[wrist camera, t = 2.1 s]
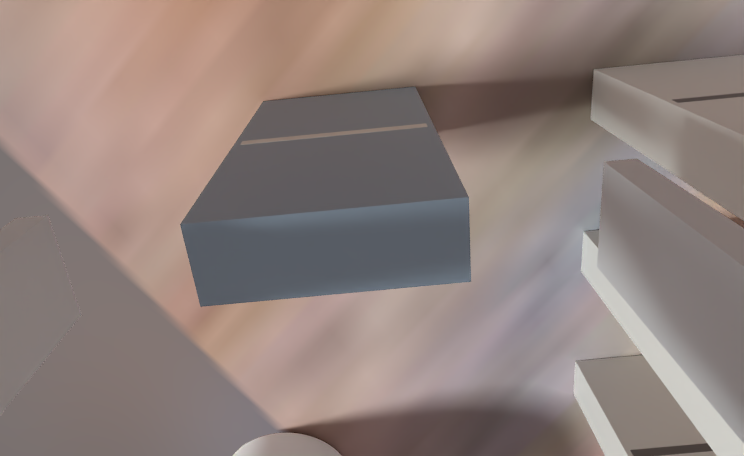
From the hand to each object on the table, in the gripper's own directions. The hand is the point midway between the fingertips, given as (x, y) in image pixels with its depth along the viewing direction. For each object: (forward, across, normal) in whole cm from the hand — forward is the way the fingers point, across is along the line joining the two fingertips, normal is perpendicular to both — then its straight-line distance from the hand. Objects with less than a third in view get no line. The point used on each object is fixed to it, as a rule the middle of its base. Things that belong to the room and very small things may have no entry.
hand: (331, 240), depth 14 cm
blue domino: (+10, 0, +1) cm, 11 cm away
